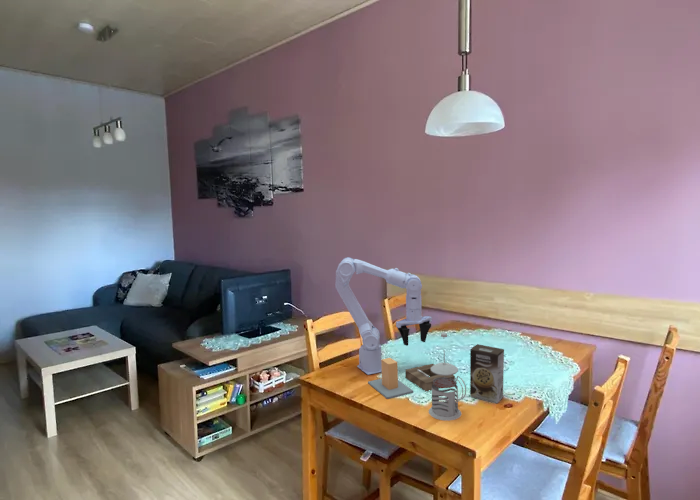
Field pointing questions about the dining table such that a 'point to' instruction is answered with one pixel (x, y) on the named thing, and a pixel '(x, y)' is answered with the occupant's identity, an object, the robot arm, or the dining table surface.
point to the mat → (391, 393)
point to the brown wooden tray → (423, 376)
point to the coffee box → (486, 373)
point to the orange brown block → (389, 373)
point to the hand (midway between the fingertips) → (414, 343)
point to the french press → (445, 391)
